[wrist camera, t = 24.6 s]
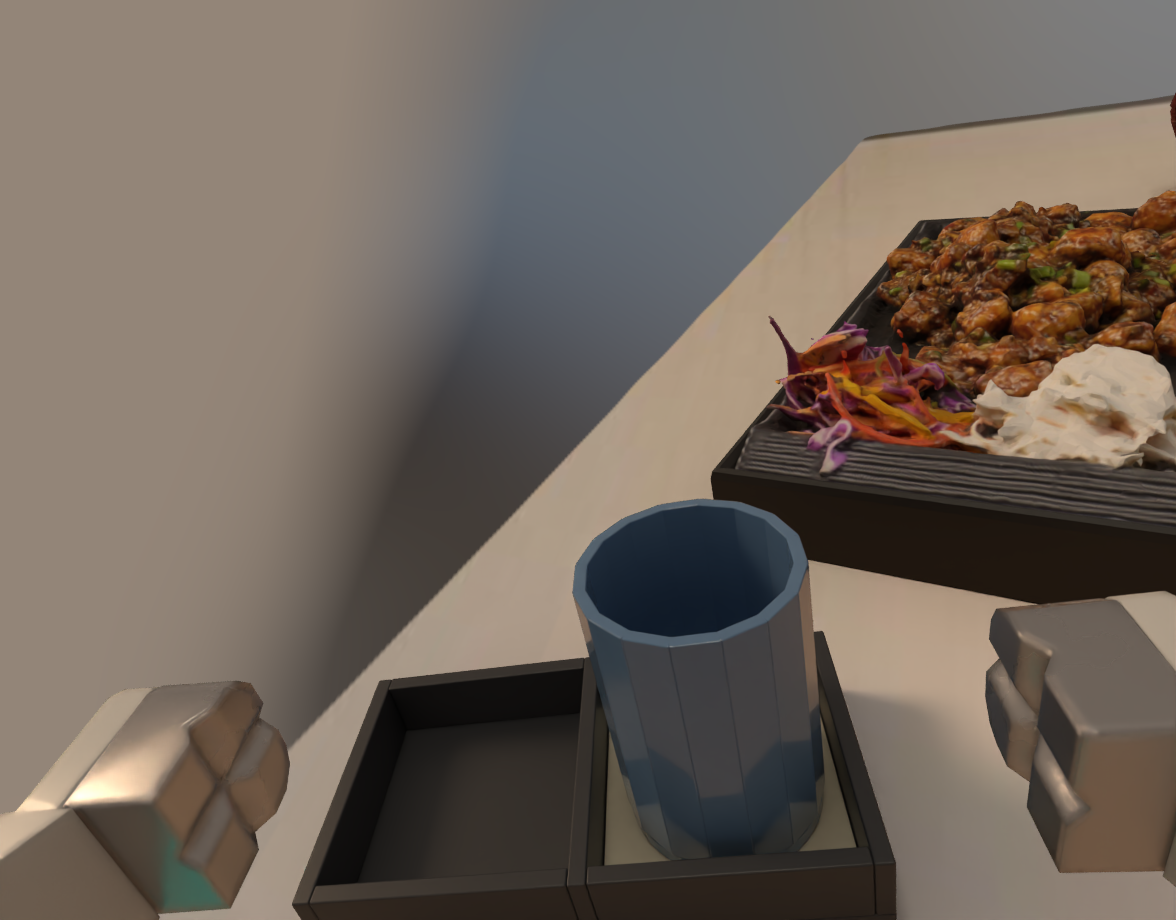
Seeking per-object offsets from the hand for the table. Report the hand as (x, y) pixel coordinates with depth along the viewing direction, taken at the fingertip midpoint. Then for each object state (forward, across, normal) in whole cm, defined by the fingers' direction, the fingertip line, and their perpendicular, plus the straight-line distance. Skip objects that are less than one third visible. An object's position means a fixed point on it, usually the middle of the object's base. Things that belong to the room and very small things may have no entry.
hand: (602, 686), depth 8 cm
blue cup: (+12, 0, +18) cm, 21 cm away
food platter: (+41, -23, +18) cm, 51 cm away
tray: (+12, +4, +18) cm, 22 cm away
